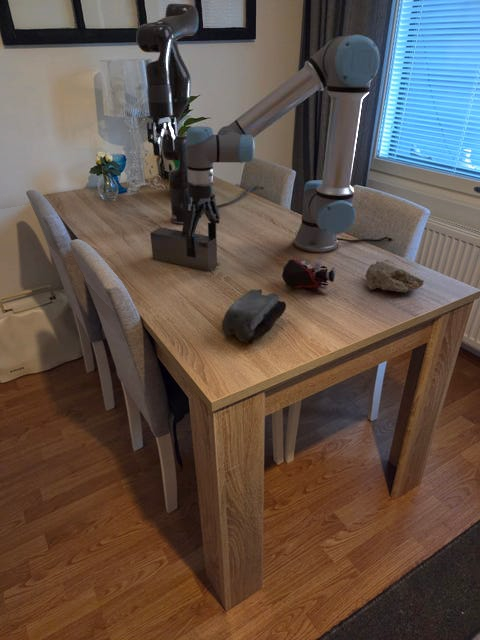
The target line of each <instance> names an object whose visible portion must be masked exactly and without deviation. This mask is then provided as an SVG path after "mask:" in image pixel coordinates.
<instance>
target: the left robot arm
mask: <svg viewBox="0 0 480 640" xmlns="http://www.w3.org/2000/svg"><path fill="white" fill-rule="evenodd" d="M199 24H200V18H199V12H198V9H197V7H196V6H195V5H192V4H189V3H173V2H172V3H168V4H167V5H166V9H165V16H164V17H162V18H159V19H158V20H157V21H154V22H147V23H144V24H141V25H140V26H139V27H138V28H137V30H136V36H135V41H136V44H137V46H138V48H139V49H140V50H141V51H142V52H143V53H149V54H150V53H157V54H158V53H159V56H158V58H157V59H156V60H154V61H149V62H147V63H146V64H145V74H146V86H147V89H146V90H147V91H146V95H147V102H148V103H147V105H148V113H149V116H150V117H151V118H152V122H150V121H147V123H146V131H147V132H146V133H147V142H148V143H150V144H152V148H153V155H154V156H155V157H160V156H161V155H163V158H164V159H165V160H167V161H172V162H173V161H179V167H178V168H177V169H175V168H174V169H170V171H169V172H168V182H169V189H170V193H169V195H170V196H169V197H170V206H171V207H170V208H171V209H170V210H171V222H172V223H174V224H177V225H183V224H184V219H185V214H186V204H192V198H191V197H190V196H189V194H188V184H189V182H188V166H187V147H186V135H178V124H179V121H180V118H181V117H182V115H183V113H184V112H185V109H186V108H187V106H188V104H189V103H190V100H191V99H190V98H191V87H192V79H191V74H190V72H189V70H188V68H187V66H186V64H185V62H184V60H183V58H182V56H181V53H180V50H179V46H178V40H179V39H183V38H184V37H191V36H195V35H196V34H197V32H198V29H199ZM161 140H162V142H161ZM160 142H161V144H160ZM161 150H162V152H161ZM257 188H261V189H264V186H263V187H259V185H255V186H254V187H251V188H249V189H247V190H246V192H244V193H243V194H242V195H241V196H239V197H237V198H235V199H234V200H232V201H229V202H225V203H222V204H219V205H217V208H222V207H224V206H228V205H231V204H233V203H236V202H238V201H239V200H241V199H243V198H244V197H245V196H246V195H247V194H249V192H251V191H253V190H255V189H257ZM195 214H196V213H195Z"/></svg>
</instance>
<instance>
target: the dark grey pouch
mask: <svg viewBox="0 0 480 640" xmlns="http://www.w3.org/2000/svg"><path fill="white" fill-rule="evenodd" d="M262 292H263V290H262V289H250V290H248V291H247V292H246V293H245V294H243V295H242V296H241V297H239V298H238V299H237V300H235V301H234V302H233V303H232V304H231V305H230V306H229V307H228V309H227V310H226V312H225V314H224V316H223V319H222V323H221V331H222V332H223V333H224V334H225V335H227V336H234V335H235V337H236V338H237V340H239V341H240V342H244V343H247V344H249V345H251V344H253V343H254V342H255V341H257V340H258V339H260V338H262V337H264V336H265V335H266V334H267V333H269V332H270V331H271V330H272V328H273V327H274V325H275V323H276V322H277V320H278V319H279V318H280V317H281V316H283V314H284V313H285V312H286V310H287V304H286V303H287V302H285V301H280V298H279V294H278V293H276V292H275V293H274V292H273V293H269V294H262Z"/></svg>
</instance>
